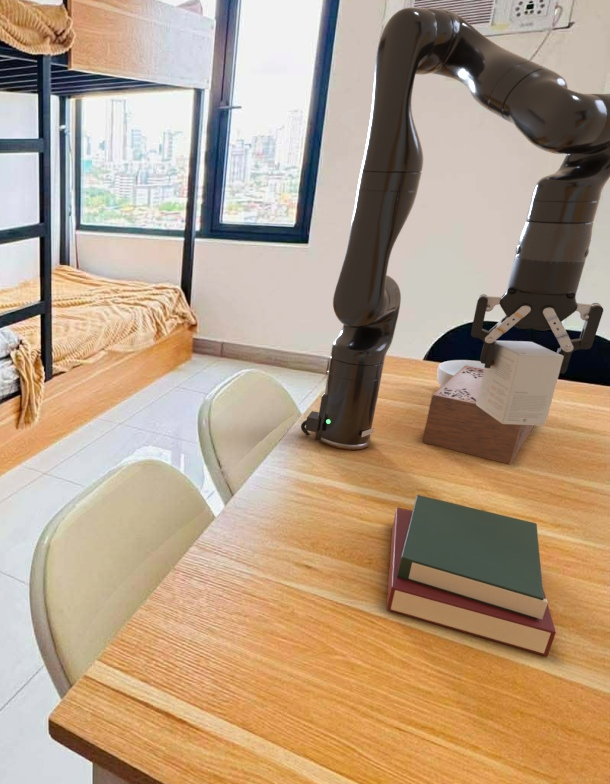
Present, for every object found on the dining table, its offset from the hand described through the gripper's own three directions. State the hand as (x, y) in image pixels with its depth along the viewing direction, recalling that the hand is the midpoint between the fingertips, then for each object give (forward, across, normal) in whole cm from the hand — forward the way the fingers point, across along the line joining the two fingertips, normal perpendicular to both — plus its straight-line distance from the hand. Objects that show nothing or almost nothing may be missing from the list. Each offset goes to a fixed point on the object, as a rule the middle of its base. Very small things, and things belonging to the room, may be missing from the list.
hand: (519, 370), depth 90 cm
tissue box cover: (+24, +1, -38) cm, 45 cm away
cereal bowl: (+24, +3, -62) cm, 66 cm away
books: (+24, +2, +22) cm, 32 cm away
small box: (+7, 0, 0) cm, 7 cm away
